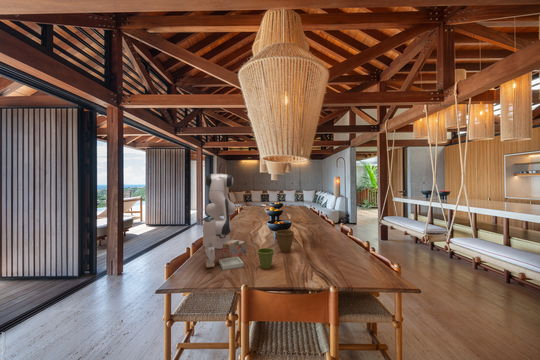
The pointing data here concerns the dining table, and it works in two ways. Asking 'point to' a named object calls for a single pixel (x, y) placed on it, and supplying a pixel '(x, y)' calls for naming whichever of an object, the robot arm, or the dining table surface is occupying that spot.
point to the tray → (231, 263)
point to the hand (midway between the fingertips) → (210, 262)
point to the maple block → (208, 263)
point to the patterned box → (233, 248)
